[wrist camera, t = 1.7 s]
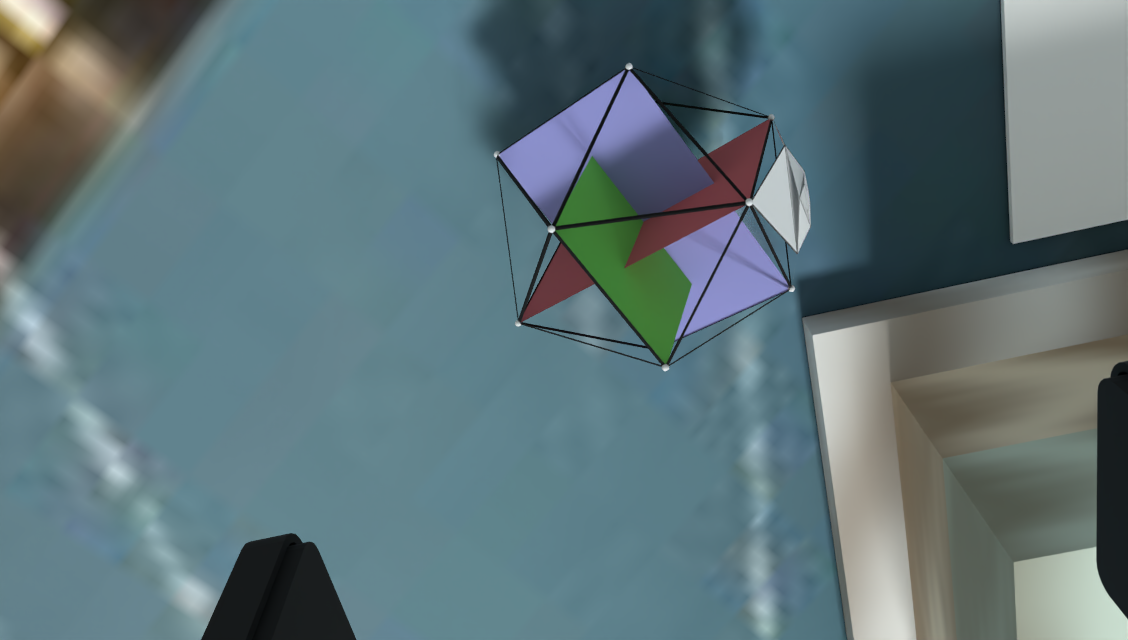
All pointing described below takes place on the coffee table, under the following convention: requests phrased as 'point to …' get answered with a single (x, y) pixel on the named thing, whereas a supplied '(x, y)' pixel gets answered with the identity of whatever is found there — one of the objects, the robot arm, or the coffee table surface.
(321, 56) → the coffee table surface
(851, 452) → the tower base
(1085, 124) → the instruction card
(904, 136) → the coffee table surface
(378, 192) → the coffee table surface
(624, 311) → the geometric puzzle
